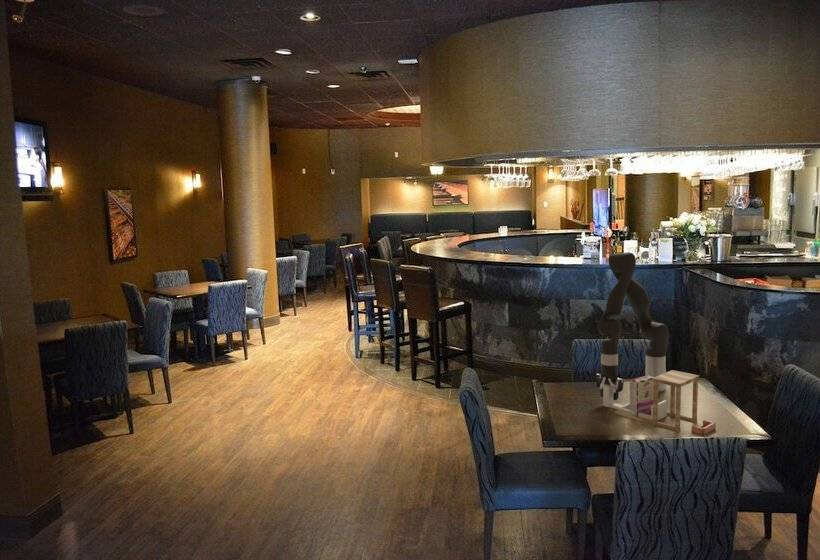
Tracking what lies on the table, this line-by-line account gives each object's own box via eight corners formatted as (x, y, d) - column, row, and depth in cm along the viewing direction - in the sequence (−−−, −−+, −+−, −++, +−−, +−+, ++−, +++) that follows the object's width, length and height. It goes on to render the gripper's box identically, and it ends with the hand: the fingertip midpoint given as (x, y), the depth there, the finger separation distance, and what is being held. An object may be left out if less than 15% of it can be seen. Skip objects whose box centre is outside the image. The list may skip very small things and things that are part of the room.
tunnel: (634, 405, 310) (635, 362, 307) (697, 422, 287) (699, 375, 284) (614, 414, 299) (614, 369, 296) (678, 432, 277) (679, 384, 274)
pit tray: (703, 426, 282) (703, 419, 281) (715, 429, 278) (715, 422, 278) (691, 433, 276) (691, 425, 275) (703, 436, 272) (703, 429, 271)
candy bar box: (647, 410, 303) (647, 374, 300) (655, 413, 298) (656, 377, 296) (628, 414, 297) (629, 378, 295) (637, 418, 293) (637, 381, 291)
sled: (612, 401, 315) (612, 381, 314) (666, 416, 295) (667, 393, 293) (598, 407, 308) (599, 386, 307) (653, 422, 288) (653, 399, 286)
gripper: (628, 363, 304) (627, 399, 307) (600, 358, 315) (600, 393, 318) (618, 367, 300) (618, 403, 302) (591, 361, 311) (591, 396, 313)
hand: (609, 398), depth 310 cm, fingers open, 6 cm apart
